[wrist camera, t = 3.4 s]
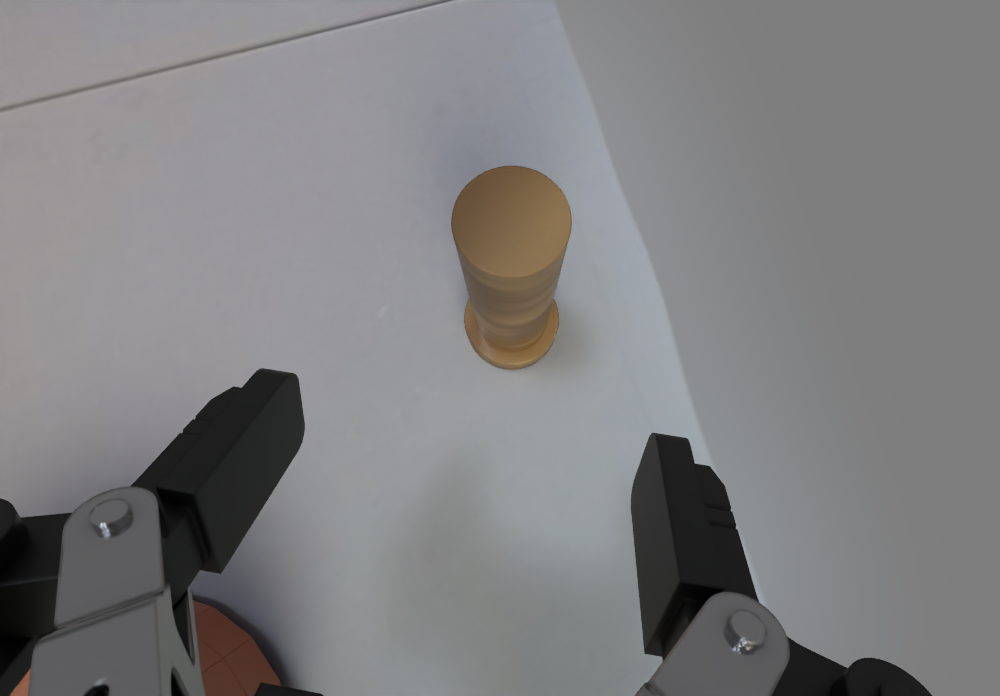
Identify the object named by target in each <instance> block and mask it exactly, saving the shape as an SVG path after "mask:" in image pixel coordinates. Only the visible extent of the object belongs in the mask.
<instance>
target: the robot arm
mask: <svg viewBox="0 0 1000 696" xmlns="http://www.w3.org/2000/svg"><path fill="white" fill-rule="evenodd" d="M304 430H305V423H304V415H303V408H302V401H301V394H300V387H299V380H298V377H297V375H296V374H294V373H288V372H282V371H276V370H270V369H264V368H262V369H259V370H257V371H256V372H255V373H254V375H253V376H252V377H251V378H250V379H249V380H248V381H247V383H246V384H245V385H244V386H243V387H242V388H239V387H232V388H230V389H228V390H227V391H225V392H223V393H222V394H220V395H218V396H216V397H215V398H213V399H211V400H210V401H209V402H208V403H207V405H206V406H205V407H204V408H203V409H202V410H201V411H200V412H199V413H198V414H197V415H196V419H195V420H192V421H191V422H190V423H189V424H188V425H187V426H186V427H185V428H184V429H183V433H180V434H179V435H178V436H177V437H176V438H175V439H174V440H173V441H172V442H171V443H170V444H169V446H168V447H167V448H166V449H165V450H164V451H163V452H162V453H161V454H160V455H159V456H158V457H157V459H156V460H155V461H154V462H153V463H152V464H151V465H150V466H149V467H148V468H147V469H146V470H145V471H144V473H143V474H142V475H141V476H140V477H139V478H138V479H137V480H136V481H135V482H134V483H133V484H132V485H131V486H130V487H121V488H116V489H112V490H109V491H106V492H103V493H101V494H98V495H96V496H94V497H92V498H91V499H89V500H87V501H86V502H84V503H83V504H82V505H80V506H79V507H78V508H77V509H76V510H75V511H74V512H73V513H65V514H55V515H44V516H34V517H24V518H20V516H19V515H18V513H17V511H16V510H15V508H14V506H13V505H12V504H11V503H10V502H8V501H6V500H4V499H0V696H10V695H11V693H12V692H13V691H14V689H15V688H16V687H17V685H18V684H19V683H20V681H21V680H22V679H23V678H24V676H25V675H26V674H27V672H28V671H29V670H30V668H31V672H30V680H29V689H28V696H206V693H205V690H204V685H203V681H202V675H201V668H200V659H199V650H198V641H197V632H196V624H195V615H194V606H193V597H192V590H191V587H190V584H191V582H192V581H193V579H194V578H195V576H196V575H197V573H198V572H199V570H204V571H209V572H215V573H220V574H221V573H222V571H223V570H224V568H225V566H226V565H227V563H228V562H229V560H230V559H231V557H232V555H233V554H234V552H235V551H236V549H237V547H238V546H239V544H240V543H241V541H242V539H243V538H244V536H245V535H246V533H247V531H248V530H249V528H250V527H251V525H252V524H253V522H254V520H255V519H256V517H257V516H258V514H259V512H260V511H261V509H262V508H263V506H264V504H265V503H266V501H267V500H268V498H269V497H270V495H271V493H272V492H273V490H274V489H275V487H276V485H277V484H278V482H279V481H280V479H281V477H282V476H283V474H284V473H285V471H286V469H287V468H288V466H289V465H290V463H291V462H292V460H293V458H294V457H295V455H296V454H297V452H298V450H299V448H300V446H301V443H302V440H303V436H304ZM631 513H632V524H633V535H634V545H635V556H636V566H637V577H638V588H639V598H640V609H641V620H642V630H643V641H644V651H645V654H650V655H655V656H661V657H663V662H662V664H661V665H660V667H659V668H658V669H657V671H656V672H655V674H654V675H653V676H652V678H651V679H650V680H649V681H648V683H645V684H644V685H643V686H642V687H641V688H640V690H639V691H638V692H637V694H636V695H635V696H932V695H931V694H930V693H929V692H928V691H927V689H926V688H925V687H924V686H923V685H922V684H921V683H920V682H918V681H917V680H916V679H915V678H914V677H913V676H911V675H910V674H908V673H907V672H906V671H904V670H902V669H901V668H899V667H897V666H896V665H893V664H891V663H889V662H886V661H883V660H880V659H875V658H863V659H859V660H857V661H855V662H854V663H852V665H851V666H850V667H849V668H846V667H844V666H842V665H839V664H838V663H836V662H834V661H832V660H830V659H827V658H825V657H823V656H821V655H819V654H817V653H815V652H813V651H811V650H809V649H807V648H805V647H803V646H801V645H799V644H797V643H796V642H794V641H793V640H791V639H790V638H789V637H787V636H786V633H785V631H784V629H783V627H782V626H781V624H780V622H779V621H778V620H777V619H776V617H775V616H774V615H773V614H772V613H771V612H770V611H769V610H768V609H767V608H765V607H764V606H763V605H762V604H760V603H759V601H758V598H757V595H756V592H755V589H754V585H753V582H752V578H751V575H750V571H749V568H748V564H747V561H746V558H745V554H744V551H743V547H742V544H741V540H740V537H739V533H738V530H737V529H736V523H735V520H734V516H733V513H732V512H731V506H730V502H729V499H728V496H727V492H726V489H725V486H724V484H723V483H722V482H721V481H720V479H719V478H718V477H717V475H716V474H715V473H714V471H713V470H712V469H711V467H710V466H706V465H700V464H695V463H694V459H693V455H692V450H691V446H690V443H689V440H688V439H687V438H682V437H676V436H670V435H664V434H658V433H652V434H651V435H650V437H649V439H648V442H647V444H646V447H645V450H644V453H643V456H642V459H641V462H640V465H639V467H638V470H637V473H636V476H635V479H634V483H633V487H632V494H631ZM254 696H323V695H322V694H319V693H314V692H309V691H303V690H298V689H293V688H288V687H283V686H278V685H272V684H267V683H262V682H260V685H259V687H258V689H257V691H256V693H255V695H254Z"/></svg>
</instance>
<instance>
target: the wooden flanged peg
mask: <svg viewBox="0 0 1000 696" xmlns="http://www.w3.org/2000/svg"><path fill="white" fill-rule="evenodd" d="M571 225H572V220H571V211H570V207H569V204H568V201H567V199H566V197H565V195H564V194H563V192H562V191H561V189H560V188H559V187H558V186H557V185H556V184H555V183H554V182H553V181H552V180H551V179H550V178H548V177H547V176H545V175H544V174H542V173H540V172H538V171H536V170H533V169H530V168H526V167H520V166H503V167H498V168H494V169H491V170H488V171H486V172H484V173H482V174H480V175H478V176H477V177H475V178H474V179H473V180H471V181H470V182H469V183H468V184H467V185H466V186H465V188H464V189H463V190H462V191H461V193H460V194H459V196H458V198H457V200H456V202H455V205H454V208H453V212H452V218H451V226H452V233H453V237H454V241H455V245H456V249H457V252H458V256H459V260H460V264H461V268H462V271H463V275H464V279H465V283H466V286H467V290H468V294H469V300H468V303H467V305H466V309H465V315H464V323H465V329H466V333H467V336H468V338H469V341H470V343H471V345H472V347H473V349H474V350H475V352H476V353H477V354H478V355H479V356H480V357H481V358H482V359H483V360H485V361H486V362H488V363H489V364H491V365H493V366H496V367H499V368H503V369H520V368H524V367H527V366H530V365H532V364H534V363H535V362H537V361H538V360H540V359H541V358H542V357H543V356H544V355H545V354H546V353H547V352H548V350H549V349H550V347H551V345H552V343H553V341H554V338H555V336H556V333H557V329H558V323H559V314H558V308H557V305H556V302H555V300H554V298H553V297H554V294H555V290H556V286H557V282H558V278H559V275H560V271H561V267H562V263H563V259H564V256H565V252H566V248H567V244H568V240H569V237H570V233H571Z"/></svg>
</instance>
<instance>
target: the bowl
mask: <svg viewBox="0 0 1000 696" xmlns="http://www.w3.org/2000/svg"><path fill="white" fill-rule="evenodd" d="M193 606H194V615H195V624H196V632H197V641H198V650H199V659H200V668H201V675H202V681H203V685H204V690H205V693H206V696H254V695H255V693H256V691H257V689H258V687H259V685H260V682H262V683H267V684H272V685H278V686H281V683H280V680H279V678H278V677H277V675H276V674H275V672H274V670H273V669H272V667H271V666H270V664H269V663H268V661H267V659H266V658H265V656H264V655H263V653H262V652H261V650H260V648H259V647H258V645H257V644H256V642H255V641H254V639H253V638H252V636H250V635H249V634H248V633H246V632H245V631H244V630H243V629H241V628H240V627H239V626H237V625H236V624H235V623H234V622H232V621H231V620H230V619H228V618H227V617H226V616H225V615H223V614H222V613H221V612H220V611H218V610H217V609H216V608H214V607H212V606H209V605H206V604H203V603H200V602H197V601H193ZM30 672H31V668H30V670H29V671H28V672H27V674H26V675H25V676H24V678H23V679H22V680H21V681H20V683H19V684H18V685H17V687H16V688H15V689H14V691H13V692H12V693H11V695H10V696H28V689H29V680H30Z"/></svg>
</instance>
